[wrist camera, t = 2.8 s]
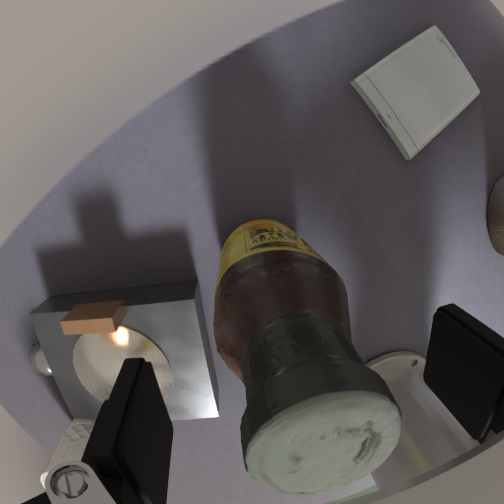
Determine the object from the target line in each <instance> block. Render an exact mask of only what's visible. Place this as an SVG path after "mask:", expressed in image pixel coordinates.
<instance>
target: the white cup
mask: <svg viewBox="0 0 504 504" xmlns="http://www.w3.org/2000/svg"><path fill="white" fill-rule="evenodd" d="M95 421H96V420H88V419H73V421H72V423H71V425H70V427H69V428H68V430H67V431H66V432H65V433H64V435H63V437H62V438H61V440H60V442H59V443H58V445H57V446H56V448H55V450H54V452H53V454H52V456H51V457H50V459H49V461H48V463H47V465H46V467H45V469H44V471H43V472H42V474H41V477H40V480H41V483H42V485H43V487H44V488H45V478H46V476H47V474H48V472H49V471H50V470H51V469H52V468H53V467H55V466H56V465H58V464H60V463H62V462H66V461H80V462H81V459H82V456H83V453H84V450H85V448H86V445H87V442H88V440H89V437H90V434H91V432H92V429H93V426H94V424H95Z"/></svg>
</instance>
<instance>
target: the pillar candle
mask: <svg viewBox="0 0 504 504" xmlns="http://www.w3.org/2000/svg"><path fill="white" fill-rule="evenodd" d="M487 224H488V231H489V235H490V239H491V242H492V245H493V247H494V249H495V250H496V251H497V252H498V253H499V254H502V255H504V175H503V176H502V177H500V178H499V179H498V181H497V182H496V184H495V185H494V187H493V190H492V192H491V195H490V198H489V204H488V214H487Z"/></svg>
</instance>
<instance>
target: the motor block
mask: <svg viewBox="0 0 504 504" xmlns="http://www.w3.org/2000/svg"><path fill="white" fill-rule="evenodd" d="M29 315H30V318H31V321H32V324H33V326H34V329H35V332H36V335H37V338H38V340H39V343H40V344H34V345H33V346H32V347H31V349H30V353H29V362H30V366H31V368H32V370H33V372H34V373H35V374H37V375H45V376H53V377H54V379H55V381H56V384H57V386H58V388H59V390H60V392H61V394H62V396H63V398H64V401H65V403H66V405H67V407H68V409H69V411H70V412H71V414H72V416H73V418H74V419H88V420H96V419H97V416H98V413H99V411H100V408H101V406H102V404H103V402H104V401H105V400H107V399H109V396H110V394H111V391H112V389H113V386H114V384H115V381H116V379H117V376H118V374H119V372H120V369H121V367H122V364H123V362H124V360H125V359H126V358H139V357H143V358H144V359H145V361H146V362H149V361H150V362H151V363H152V366H153V369H154V372H155V375H156V379H157V382H158V385H159V388H160V391H161V394H162V397H163V399H164V402H165V405H166V408H167V411H168V414H169V416H170V419H171V420H183V419H199V418H211V417H219V389H218V384H217V379H216V374H215V370H214V365H213V360H212V355H211V350H210V344H209V339H208V334H207V329H206V323H205V318H204V312H203V307H202V301H201V295H200V289H199V283H198V280H195V281H186V282H178V283H170V284H161V285H152V286H144V287H135V288H126V289H117V290H107V291H98V292H88V293H79V294H69V295H59V296H50V297H49V298H48V299H46V300H45V301H44V302H43V303H42V304H40V305H39V306H38V307H37V308H36V309H35V310H33V311H32V312H31V313H30V314H29Z"/></svg>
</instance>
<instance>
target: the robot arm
mask: <svg viewBox="0 0 504 504" xmlns="http://www.w3.org/2000/svg"><path fill="white" fill-rule="evenodd" d="M365 365H366V366H367V367H369V368H370V369H372V370H374V371H375V372H377V373H378V374H379V375H380V376H381V378H382V379H384V380H385V382H386V384H387V385H388V387H389V389H390V391H391V393H392V394H393V397H394V399H395V401H396V402H397V404H398V405H399V407H400V410H401V413H402V429H401V433H400V437H399V440H398V444H397V445H396V446H395V448H394V450H393V451H392V453H391V454H390V455H389V456H388V458H387V459H386V460H385V461H384V462H383V463H382V464H381V465H380V466H379V467H378V468H376V469H375V470H374V471H372V472H371V475H372V477H373V479H374V481H375V483H376V485H377V487H378V489H379V491H376V492H373V493H370V494H367V495H363V496H360V497H357V498H354V499H351V500H347V501H343V502H340V503H337V504H504V338H503V337H502V336H500V335H499V334H497V333H496V332H495V331H493V330H492V329H490V328H489V327H487V326H486V325H485V324H483V323H482V322H480V321H479V320H477V319H476V318H474V317H473V316H472V315H470V314H469V313H467V312H466V311H464V310H463V309H461V308H460V307H458V306H457V305H455V304H453V303H452V304H448V305H444V306H441V307H439V308H438V309H437V311H436V313H435V314H434V316H433V322H432V329H431V335H430V341H429V347H428V352H427V357H426V359H424V358H423V357H422V356H421V355H419V354H417V353H414V352H409V351H398V352H392V353H388V354H384V355H382V356H380V357H377V358H375V359H373V360H371V361H370V362H368V363H366V364H365ZM495 434H496V435H495ZM172 439H173V426H172V422H171V419H170V416H169V414H168V411H167V408H166V405H165V402H164V399H163V397H162V394H161V391H160V388H159V385H158V382H157V379H156V375H155V372H154V369H153V366H152V363H151V362H150V361H149V362H146V361H145V359H144V358H143V357H139V358H126V359H125V360H124V362H123V364H122V367H121V369H120V372H119V374H118V376H117V379H116V381H115V384H114V386H113V389H112V391H111V394H110V396H109V399H107V400H105V401H104V402H103V404H102V406H101V408H100V411H99V413H98V416H97V419H96V421H95V424H94V426H93V429H92V432H91V434H90V437H89V440H88V442H87V445H86V448H85V450H84V453H83V456H82V459H81V462H80V461H66V462H62V463H60V464H58V465H56V466H55V467H53V468H52V469H51V470H50V471H49V472H48V474H47V476H46V478H45V489H46V492H44V493H43V494H40V495H38V496H36V497H34V498H32V499H30V500H28V501H26V502H24V503H22V504H166V501H167V489H168V478H169V468H170V458H171V448H172Z"/></svg>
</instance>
